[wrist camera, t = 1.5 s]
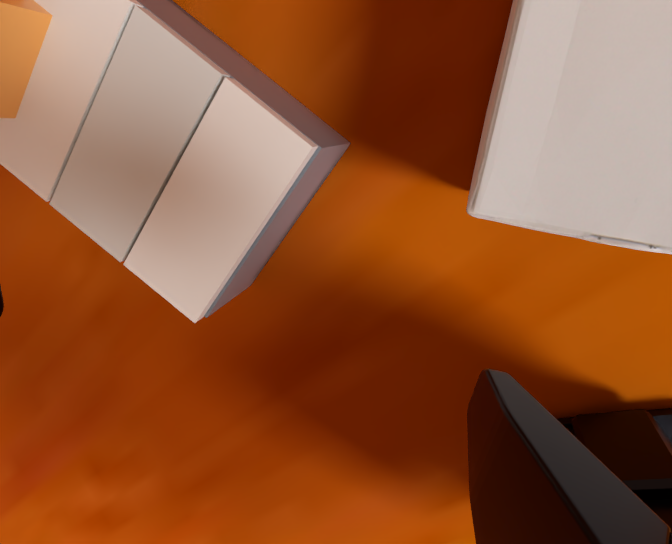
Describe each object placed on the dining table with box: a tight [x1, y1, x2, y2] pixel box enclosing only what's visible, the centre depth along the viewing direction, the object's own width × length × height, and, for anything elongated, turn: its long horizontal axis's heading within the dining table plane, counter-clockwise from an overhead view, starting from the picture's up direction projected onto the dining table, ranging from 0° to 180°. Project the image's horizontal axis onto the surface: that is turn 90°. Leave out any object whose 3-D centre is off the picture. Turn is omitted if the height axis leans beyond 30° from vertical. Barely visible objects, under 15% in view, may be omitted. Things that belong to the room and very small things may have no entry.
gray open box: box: [136, 0, 351, 318], centre depth 19 cm, size 11×8×4 cm
